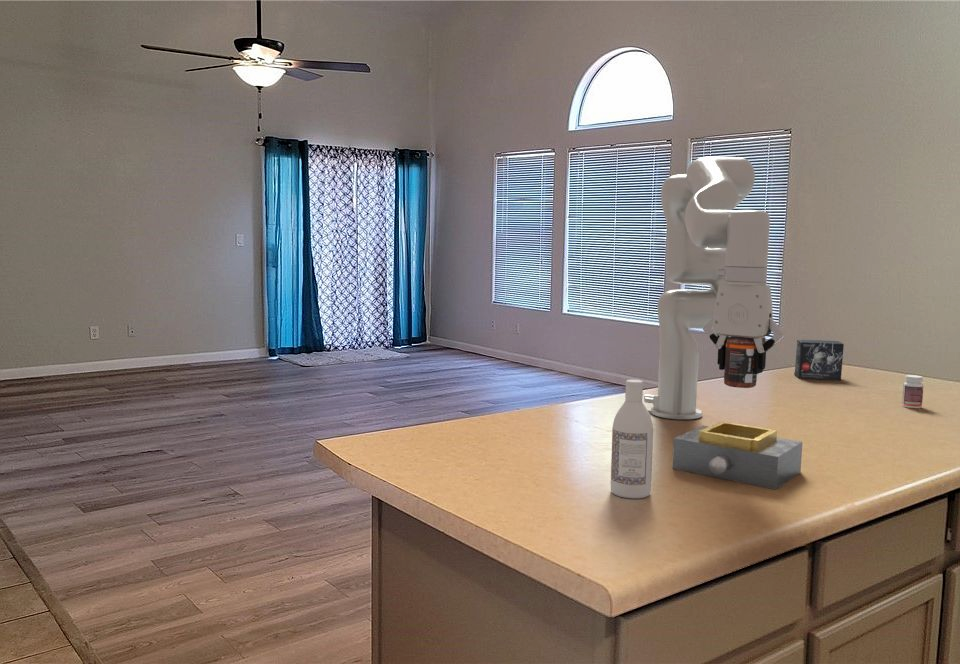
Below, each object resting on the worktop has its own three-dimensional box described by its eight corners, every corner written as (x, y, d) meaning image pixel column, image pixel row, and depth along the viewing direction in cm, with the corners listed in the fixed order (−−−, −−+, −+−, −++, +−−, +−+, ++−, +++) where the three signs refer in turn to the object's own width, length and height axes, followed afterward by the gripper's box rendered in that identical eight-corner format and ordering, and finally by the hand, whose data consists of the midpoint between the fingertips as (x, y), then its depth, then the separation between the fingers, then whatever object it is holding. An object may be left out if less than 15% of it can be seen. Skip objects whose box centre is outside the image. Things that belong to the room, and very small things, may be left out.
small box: (798, 378, 259) (800, 341, 258) (793, 375, 266) (795, 339, 264) (841, 380, 257) (844, 343, 256) (836, 376, 264) (838, 340, 262)
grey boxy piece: (665, 471, 155) (667, 432, 154) (701, 453, 168) (703, 416, 167) (770, 493, 142) (773, 450, 141) (800, 472, 156) (803, 432, 155)
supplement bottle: (758, 389, 151) (761, 329, 150) (725, 388, 152) (728, 328, 151) (754, 383, 157) (757, 325, 155) (722, 382, 158) (725, 324, 157)
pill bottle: (925, 408, 215) (927, 377, 214) (907, 408, 215) (909, 377, 214) (916, 405, 220) (918, 374, 219) (898, 404, 220) (900, 374, 219)
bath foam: (623, 484, 146) (626, 375, 144) (657, 492, 142) (662, 380, 140) (602, 493, 141) (606, 380, 139) (638, 502, 137) (642, 386, 134)
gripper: (693, 275, 154) (689, 368, 157) (785, 279, 144) (779, 379, 146) (709, 274, 160) (705, 363, 162) (798, 277, 150) (793, 373, 152)
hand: (740, 370), depth 154 cm, fingers closed on supplement bottle, 6 cm apart
